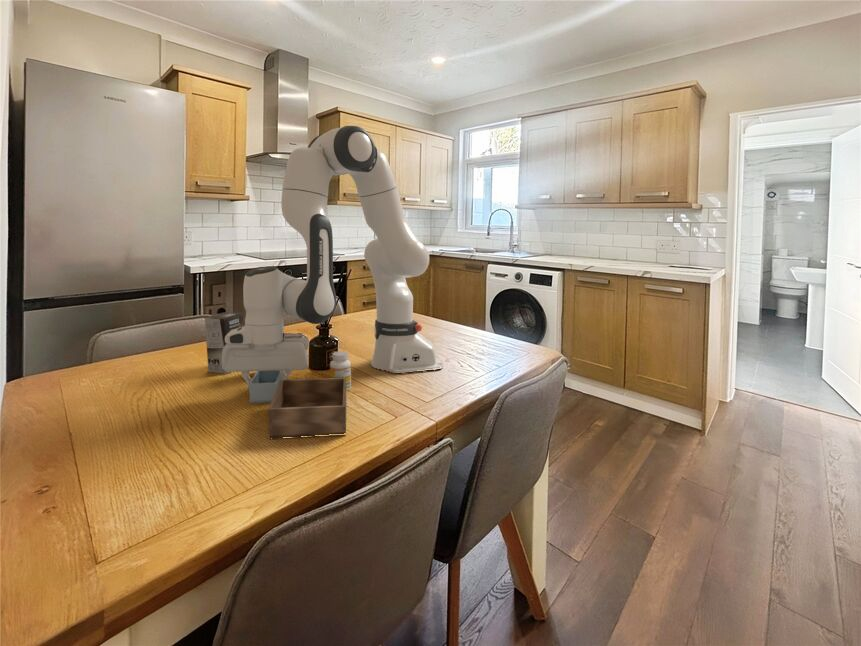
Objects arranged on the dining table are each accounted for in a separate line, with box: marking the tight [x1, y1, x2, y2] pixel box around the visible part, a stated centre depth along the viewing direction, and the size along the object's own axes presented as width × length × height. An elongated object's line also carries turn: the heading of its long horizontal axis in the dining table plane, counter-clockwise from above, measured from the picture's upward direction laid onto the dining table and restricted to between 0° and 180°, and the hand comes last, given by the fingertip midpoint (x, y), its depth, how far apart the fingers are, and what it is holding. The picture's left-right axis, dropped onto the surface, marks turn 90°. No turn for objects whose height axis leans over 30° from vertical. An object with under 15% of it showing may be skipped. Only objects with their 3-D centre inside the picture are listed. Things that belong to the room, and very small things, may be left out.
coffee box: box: [204, 311, 244, 375], centre depth 131 cm, size 9×6×16 cm
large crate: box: [267, 377, 347, 440], centre depth 100 cm, size 15×17×6 cm
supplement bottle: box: [329, 350, 352, 391], centre depth 119 cm, size 5×5×10 cm
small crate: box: [248, 370, 285, 405], centre depth 113 cm, size 6×11×5 cm, turn 10°
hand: (267, 386), depth 113 cm, fingers closed on small crate, 6 cm apart
